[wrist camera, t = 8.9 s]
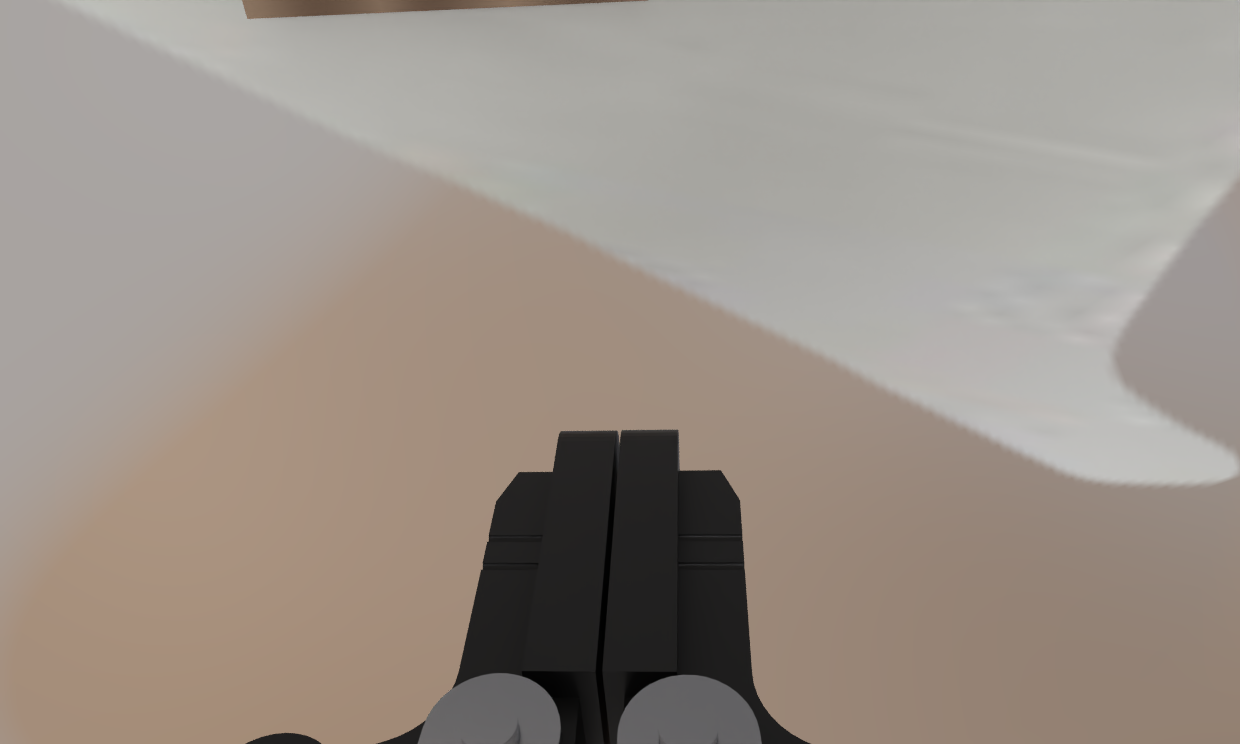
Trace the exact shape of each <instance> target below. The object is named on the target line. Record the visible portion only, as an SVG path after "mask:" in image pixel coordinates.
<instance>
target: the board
mask: <svg viewBox="0 0 1240 744" xmlns="http://www.w3.org/2000/svg"><path fill="white" fill-rule="evenodd" d="M242 1H243V5H244V8H245V12H246V15H247V19H254V18H275V17H297V16H319V15H341V14H362V13H384V12H406V11H428V10H450V9H471V8H493V7H515V6H537V5H559V4H580V3H602V2H624V1H646V0H242Z"/></svg>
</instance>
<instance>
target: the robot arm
mask: <svg viewBox="0 0 1240 744" xmlns="http://www.w3.org/2000/svg"><path fill="white" fill-rule="evenodd" d="M743 554H744V553H743V541H742V524H741V510H740V500H739V498H738V497H737V495H736V493H735V492H734V490H733V489H732V487H731V486H730V484H729V482H728V481H727V479H726V478H725V476H724V475H723V473H722V472H721V471H720V470H716V471H715V470H712V471H680V469H679V433H678V430H622V432H621V437H620V445H619V435H618V431H561V432H560V434H559V437H558V443H557V450H556V456H555V462H554V468H553V472H519V473H518V474H517V475H516V477H515V478H514V479H513V481H512V482H511V483H510V484H509V486H508V487H507V488H506V490H505V491H504V492H503V494H502V495H501V496H500V497H499V499H498V500H497V501H496V505H495V509H494V514H493V518H492V523H491V528H490V532H489V542H487V546H486V550H485V555H484V559H483V570H481V573H480V578H479V582H478V587H477V591H476V596H475V600H474V605H473V609H472V614H471V619H470V623H469V628H468V633H467V637H466V641H465V646H464V651H463V655H462V660H461V664H460V669H459V673H458V676H457V679H456V682H455V684H454V686H453V688H452V689H451V690H450V691H449V692H448V693H447V694H445V695H444V696H443V697H442V698H441V699H440V700H439V701H438V703H437V704H436V705H435V706H434V707H433V709H432V710H431V712H430V714H429V715H428V717H427V719H426V721H424V722H423V723H422V724H420V725H419V726H417V727H416V728H414V729H413V730H411V731H409V732H407V733H405V734H403V735H401V736H398V737H396V738H393V739H390V740H387V741H384V742H381V743H378V744H810V743H807V742H805V741H803V740H801V739H800V738H798V737H796V736H794V735H792V734H791V733H790V732H788V731H787V730H786V729H784V728H783V727H781V726H780V725H779V724H778V723H777V722H776V721H775V720H774V719H773V718H772V717H771V716H770V714H769V713H768V712H767V710H766V709H765V708H764V706H763V704H762V703H761V701H760V699H759V697H758V695H757V692H756V689H755V686H754V683H753V676H752V667H751V653H750V640H749V625H748V610H747V595H746V582H745V570H744V555H743ZM246 744H321V743H320V742H318V741H317V740H315V739H313V738H311V737H308V736H305V735H301V734H294V733H281V734H273V735H269V736H264V737H261V738H258V739H255V740H253V741H250V742H248V743H246Z"/></svg>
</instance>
